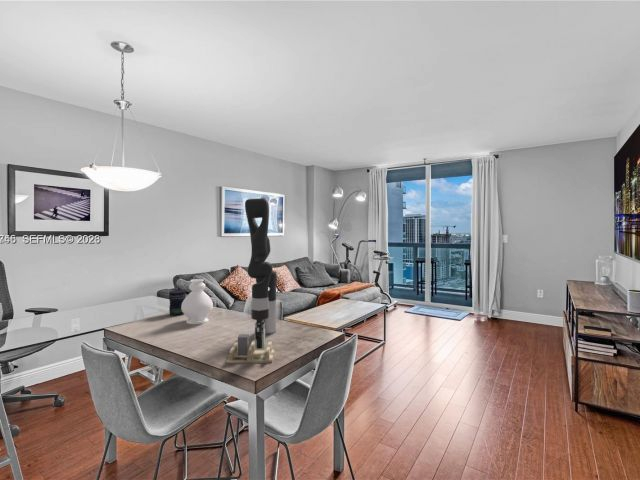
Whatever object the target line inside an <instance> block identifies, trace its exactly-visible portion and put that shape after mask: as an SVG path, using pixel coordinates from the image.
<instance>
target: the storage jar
mask: <svg viewBox="0 0 640 480" xmlns="http://www.w3.org/2000/svg"><path fill="white" fill-rule="evenodd" d="M168 294H169V296H168V298H169V299H168V300H169V307H168V308H169V309H168V311H169V316H170V317H181V316H185V314H184V313H183V312H182V309H181V306H182V302H183V301H184V299H185V298H186V297H187V296H186V290H185V289H173V290H170V291H169V293H168Z"/></svg>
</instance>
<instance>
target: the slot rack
mask: <svg viewBox="0 0 640 480" xmlns="http://www.w3.org/2000/svg"><path fill="white" fill-rule="evenodd" d="M275 352H276V347H273V339H268V342H267V346H266V347H265V348H264V350H255V339H252V341H251V343H250V344H249V349H248V352H247V356H238V339H237V340H235V342H234V344H233V345H232V347H231V348H230V349H229V352H228V357H227V358H226V360H225V364H269V363H270V364H271V363H273V360H274V356H275V355H274V354H275Z"/></svg>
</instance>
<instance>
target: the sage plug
mask: <svg viewBox="0 0 640 480" xmlns="http://www.w3.org/2000/svg"><path fill="white" fill-rule="evenodd" d="M261 332H262V331H261ZM258 337H260V335H258ZM255 338H256V336H255V335H254V340H255V350H264V348H266V334H265V329H264V331H263V334H262V348H257V340H256V339H255Z"/></svg>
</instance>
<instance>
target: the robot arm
mask: <svg viewBox="0 0 640 480" xmlns="http://www.w3.org/2000/svg"><path fill="white" fill-rule="evenodd" d="M244 210H245V214H246V219H247V225H248V229H249V234H250V235H249V236H250V244H251V256H250V259H249V264H248V266H247V275H248V276H249V277H250V278H251V279H255V283H253V284H252V285H251V302H250V303H251V304H250V305H251V311H250V313H251V317H250V318H251V319H252V320H253V321H254V320H255V323H254V340H255V339H256V340H257V348H262V334H263V331H264V329H265V335H267V334H275V332H276V331H277V281H278V279H277V278H278V276H277V272H276V271H275V270H274V269H273V265H272V263H271V262H269V261H266V260H267V259H268V258H269V255H270V254H271V242H270V238H269V236H268V233H269V222H270V218H269V217H270V202H269V201H268V199H267V198H264V197H259V198H248V199H246V200H245V202H244ZM256 219H261V222H260V225H258V223H257V221H256ZM261 331H262V332H261ZM258 335H260V337H258ZM255 336H256V338H255Z"/></svg>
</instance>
